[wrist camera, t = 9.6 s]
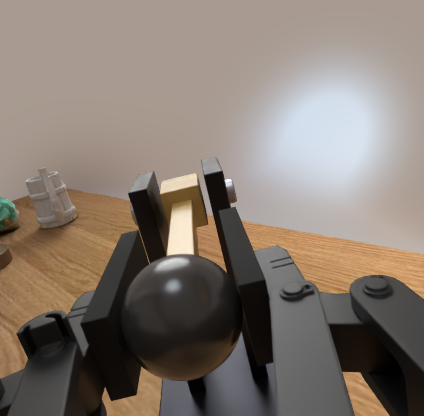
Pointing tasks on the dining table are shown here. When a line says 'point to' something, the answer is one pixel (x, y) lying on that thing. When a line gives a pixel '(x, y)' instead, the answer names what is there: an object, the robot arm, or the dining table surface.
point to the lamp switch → (182, 297)
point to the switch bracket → (243, 353)
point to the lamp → (4, 256)
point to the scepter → (8, 214)
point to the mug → (50, 199)
